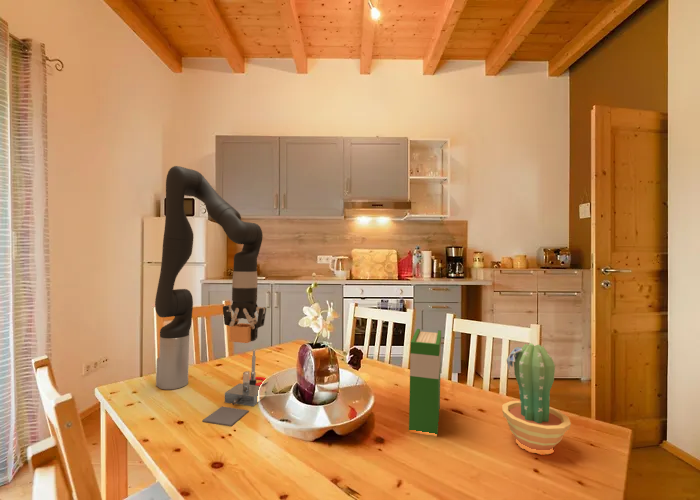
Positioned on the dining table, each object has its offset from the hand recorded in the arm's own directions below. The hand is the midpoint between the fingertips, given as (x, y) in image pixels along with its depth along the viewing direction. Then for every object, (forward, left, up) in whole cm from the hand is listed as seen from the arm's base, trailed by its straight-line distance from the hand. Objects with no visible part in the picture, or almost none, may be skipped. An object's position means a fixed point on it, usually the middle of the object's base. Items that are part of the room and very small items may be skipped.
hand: (243, 339), depth 107 cm
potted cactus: (+83, 0, -20) cm, 85 cm away
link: (0, 0, 0) cm, 0 cm away
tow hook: (-5, +16, -20) cm, 26 cm away
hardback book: (+56, +6, -20) cm, 59 cm away
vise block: (0, +1, -20) cm, 20 cm away
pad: (+1, -9, -20) cm, 22 cm away
